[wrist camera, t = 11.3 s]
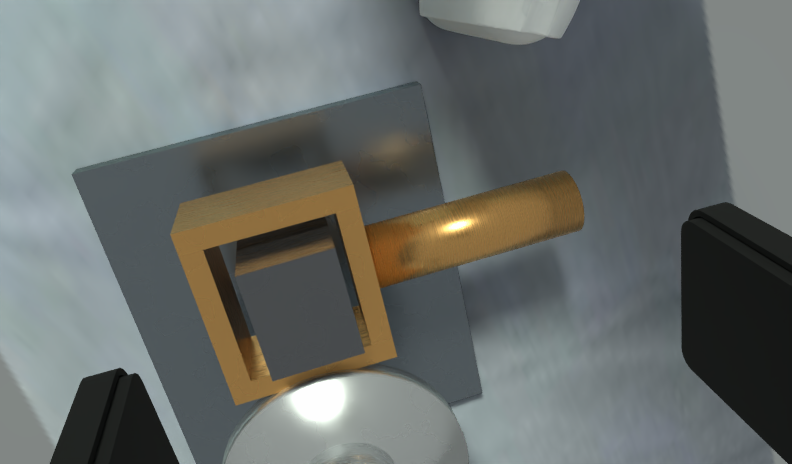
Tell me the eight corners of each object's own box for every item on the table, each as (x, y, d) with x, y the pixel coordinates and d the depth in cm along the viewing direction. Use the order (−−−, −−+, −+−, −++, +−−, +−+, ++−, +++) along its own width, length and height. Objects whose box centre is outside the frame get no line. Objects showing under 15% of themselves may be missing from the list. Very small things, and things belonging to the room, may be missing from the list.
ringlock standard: (76, 169, 34) (-45, 301, 20) (500, 59, 36) (654, 110, 22) (214, 492, 42) (196, 742, 28) (549, 387, 45) (682, 569, 31)
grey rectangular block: (239, 197, 35) (234, 276, 26) (313, 177, 35) (334, 247, 26) (267, 280, 37) (272, 381, 28) (337, 260, 37) (365, 353, 28)
